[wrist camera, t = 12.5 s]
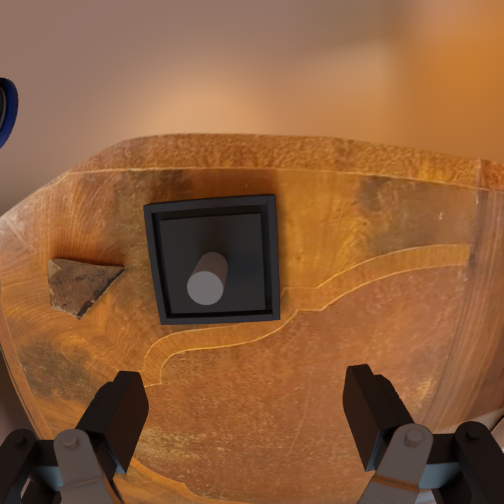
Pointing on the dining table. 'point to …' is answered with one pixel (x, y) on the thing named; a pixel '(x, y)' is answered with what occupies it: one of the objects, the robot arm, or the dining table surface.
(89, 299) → the shard
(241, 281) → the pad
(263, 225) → the base pad
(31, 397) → the dining table surface
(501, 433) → the bowl
